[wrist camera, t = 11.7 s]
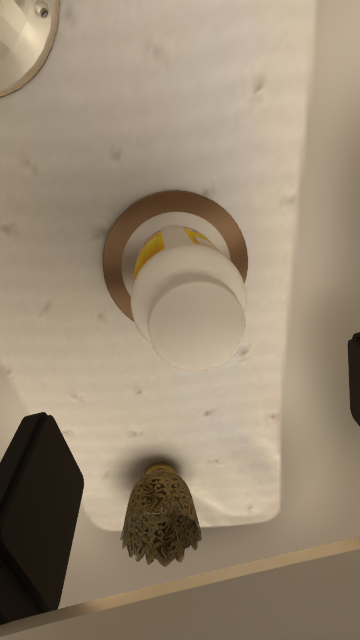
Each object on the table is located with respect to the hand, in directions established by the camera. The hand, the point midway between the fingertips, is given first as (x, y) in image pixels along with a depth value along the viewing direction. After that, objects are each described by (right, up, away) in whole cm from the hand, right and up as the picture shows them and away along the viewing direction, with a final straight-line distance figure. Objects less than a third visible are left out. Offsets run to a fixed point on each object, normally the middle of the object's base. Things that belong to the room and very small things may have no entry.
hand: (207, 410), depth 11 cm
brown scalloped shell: (-3, -14, +28) cm, 32 cm away
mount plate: (-1, +8, +19) cm, 21 cm away
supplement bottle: (-1, +7, +18) cm, 19 cm away
